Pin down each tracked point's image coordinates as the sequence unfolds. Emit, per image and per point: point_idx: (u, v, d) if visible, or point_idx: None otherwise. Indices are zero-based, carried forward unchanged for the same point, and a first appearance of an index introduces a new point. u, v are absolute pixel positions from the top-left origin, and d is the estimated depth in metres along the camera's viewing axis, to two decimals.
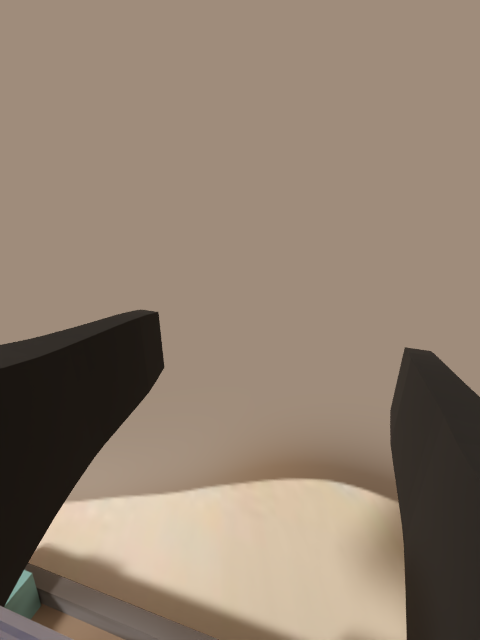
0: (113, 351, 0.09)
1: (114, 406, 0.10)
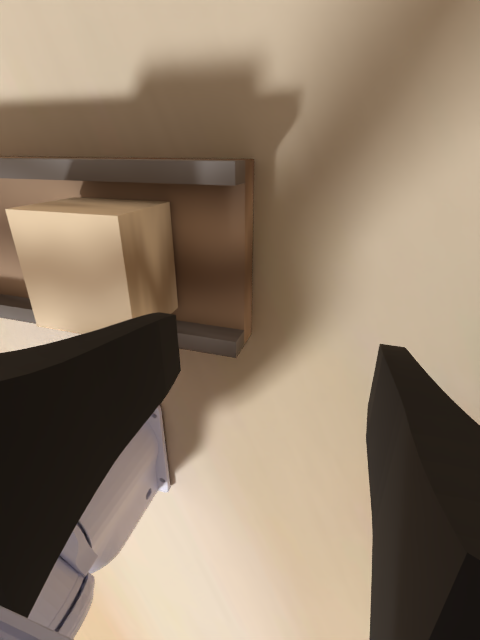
0: (133, 355, 0.09)
1: (133, 411, 0.10)
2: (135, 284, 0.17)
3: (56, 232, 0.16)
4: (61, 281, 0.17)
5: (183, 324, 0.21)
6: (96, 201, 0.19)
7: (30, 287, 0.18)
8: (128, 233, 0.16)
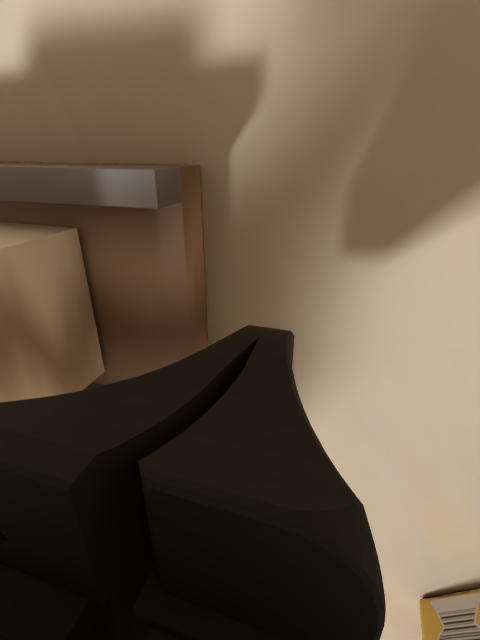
0: None
1: None
2: (5, 362, 0.11)
3: None
4: None
5: None
6: None
7: None
8: None
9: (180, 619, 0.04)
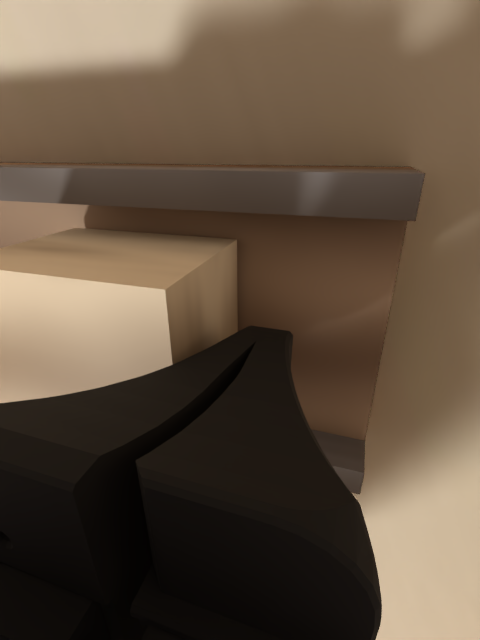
0: None
1: None
2: None
3: (41, 311, 0.08)
4: (53, 390, 0.10)
5: None
6: (112, 239, 0.11)
7: None
8: (181, 315, 0.08)
9: (177, 618, 0.04)
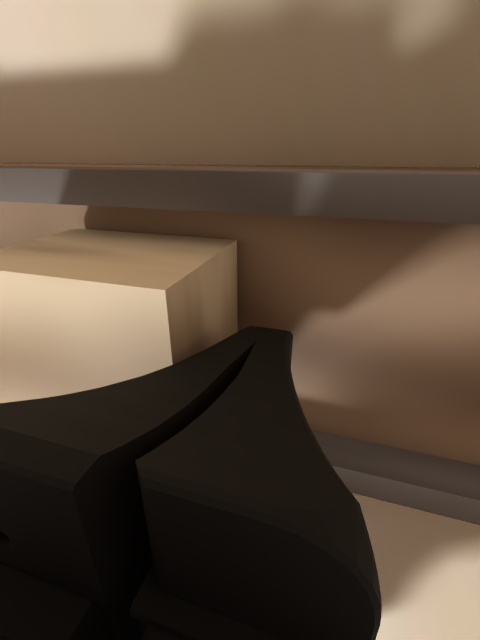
0: None
1: None
2: None
3: (41, 311, 0.08)
4: (53, 390, 0.10)
5: (474, 473, 0.12)
6: (112, 239, 0.11)
7: None
8: (182, 315, 0.08)
9: (177, 618, 0.04)
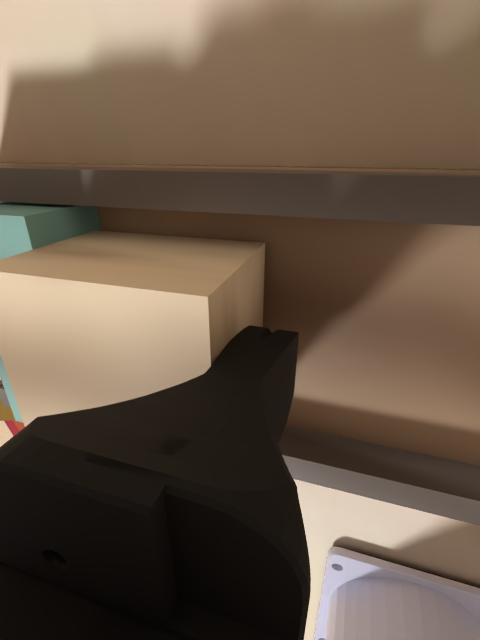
0: (277, 381, 0.08)
1: None
2: None
3: (72, 317, 0.08)
4: (80, 398, 0.09)
5: None
6: (137, 242, 0.11)
7: (22, 399, 0.10)
8: (220, 322, 0.08)
9: None
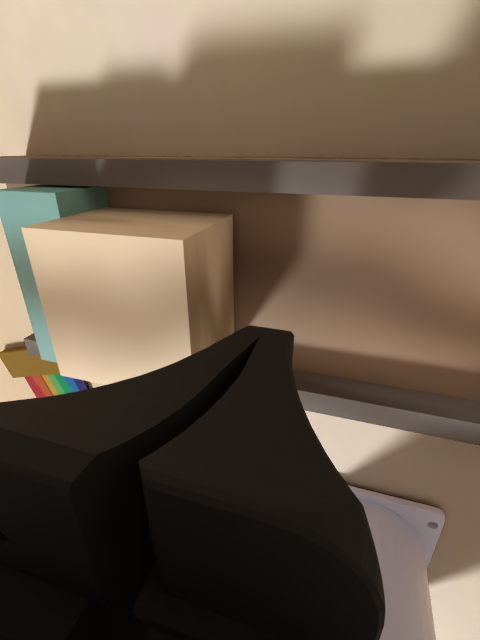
0: None
1: None
2: (196, 328, 0.12)
3: (92, 260, 0.12)
4: (96, 323, 0.13)
5: None
6: (137, 214, 0.14)
7: (53, 328, 0.14)
8: (193, 262, 0.11)
9: (180, 619, 0.04)
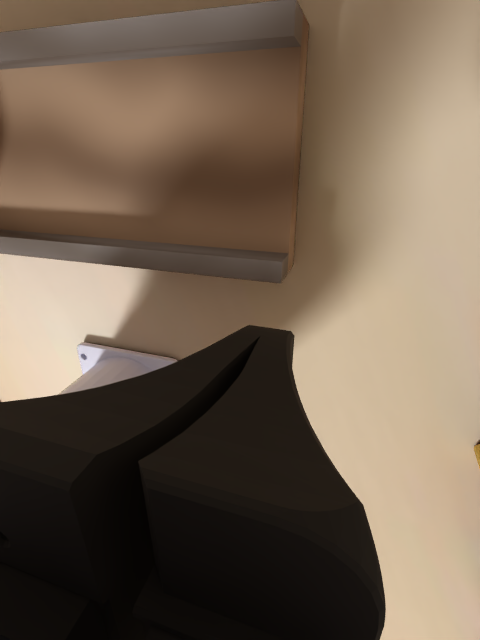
0: None
1: None
2: None
3: None
4: None
5: (213, 249, 0.18)
6: None
7: None
8: None
9: (180, 619, 0.04)
